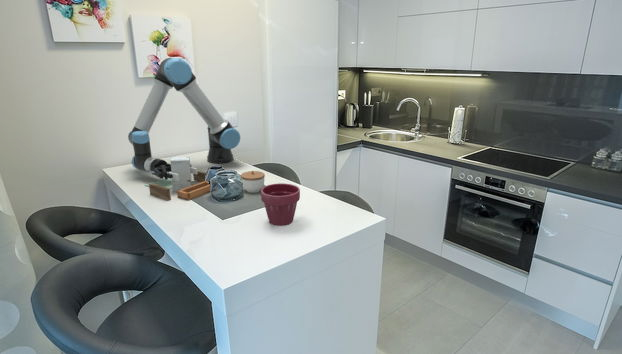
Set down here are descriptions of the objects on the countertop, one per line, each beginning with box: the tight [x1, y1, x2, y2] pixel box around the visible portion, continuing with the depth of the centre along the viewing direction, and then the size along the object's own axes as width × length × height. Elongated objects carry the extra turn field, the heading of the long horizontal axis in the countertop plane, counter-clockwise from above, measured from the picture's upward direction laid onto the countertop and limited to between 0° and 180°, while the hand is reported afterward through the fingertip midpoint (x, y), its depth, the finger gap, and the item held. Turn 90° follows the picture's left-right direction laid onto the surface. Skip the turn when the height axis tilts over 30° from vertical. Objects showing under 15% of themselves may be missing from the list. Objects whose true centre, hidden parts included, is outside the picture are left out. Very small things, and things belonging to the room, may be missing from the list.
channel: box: [148, 169, 207, 201], centre depth 161 cm, size 26×12×5 cm, turn 148°
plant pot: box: [260, 183, 301, 227], centre depth 129 cm, size 14×14×13 cm
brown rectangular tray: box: [177, 181, 211, 201], centre depth 157 cm, size 16×6×3 cm, turn 148°
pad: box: [144, 178, 173, 190], centre depth 168 cm, size 14×14×1 cm
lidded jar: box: [240, 170, 266, 193], centre depth 160 cm, size 11×11×9 cm
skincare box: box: [170, 156, 193, 193], centre depth 159 cm, size 8×6×15 cm
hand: (187, 174), depth 157 cm, fingers closed on skincare box, 9 cm apart
